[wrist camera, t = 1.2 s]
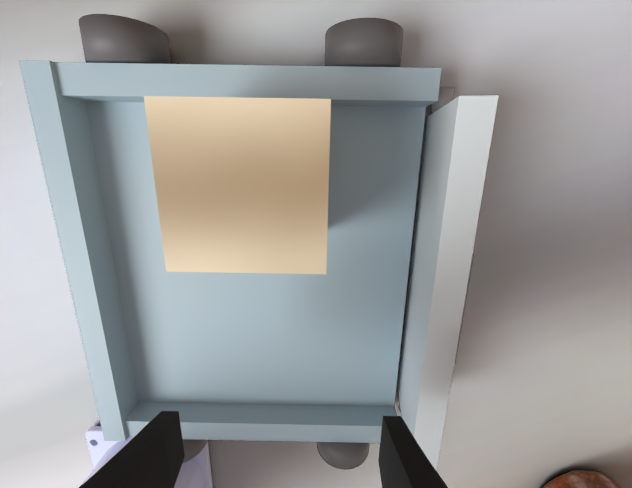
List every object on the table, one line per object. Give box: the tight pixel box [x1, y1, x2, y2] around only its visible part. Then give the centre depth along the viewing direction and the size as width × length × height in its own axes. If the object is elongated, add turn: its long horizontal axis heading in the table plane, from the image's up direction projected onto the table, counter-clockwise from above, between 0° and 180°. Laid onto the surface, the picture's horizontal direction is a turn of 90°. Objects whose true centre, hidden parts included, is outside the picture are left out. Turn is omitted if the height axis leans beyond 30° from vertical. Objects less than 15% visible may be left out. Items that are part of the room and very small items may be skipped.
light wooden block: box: [144, 96, 331, 274], centre depth 12 cm, size 5×5×6 cm
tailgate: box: [398, 95, 499, 471], centre depth 14 cm, size 16×2×5 cm, turn 179°
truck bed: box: [19, 14, 455, 469], centre depth 16 cm, size 22×18×3 cm
